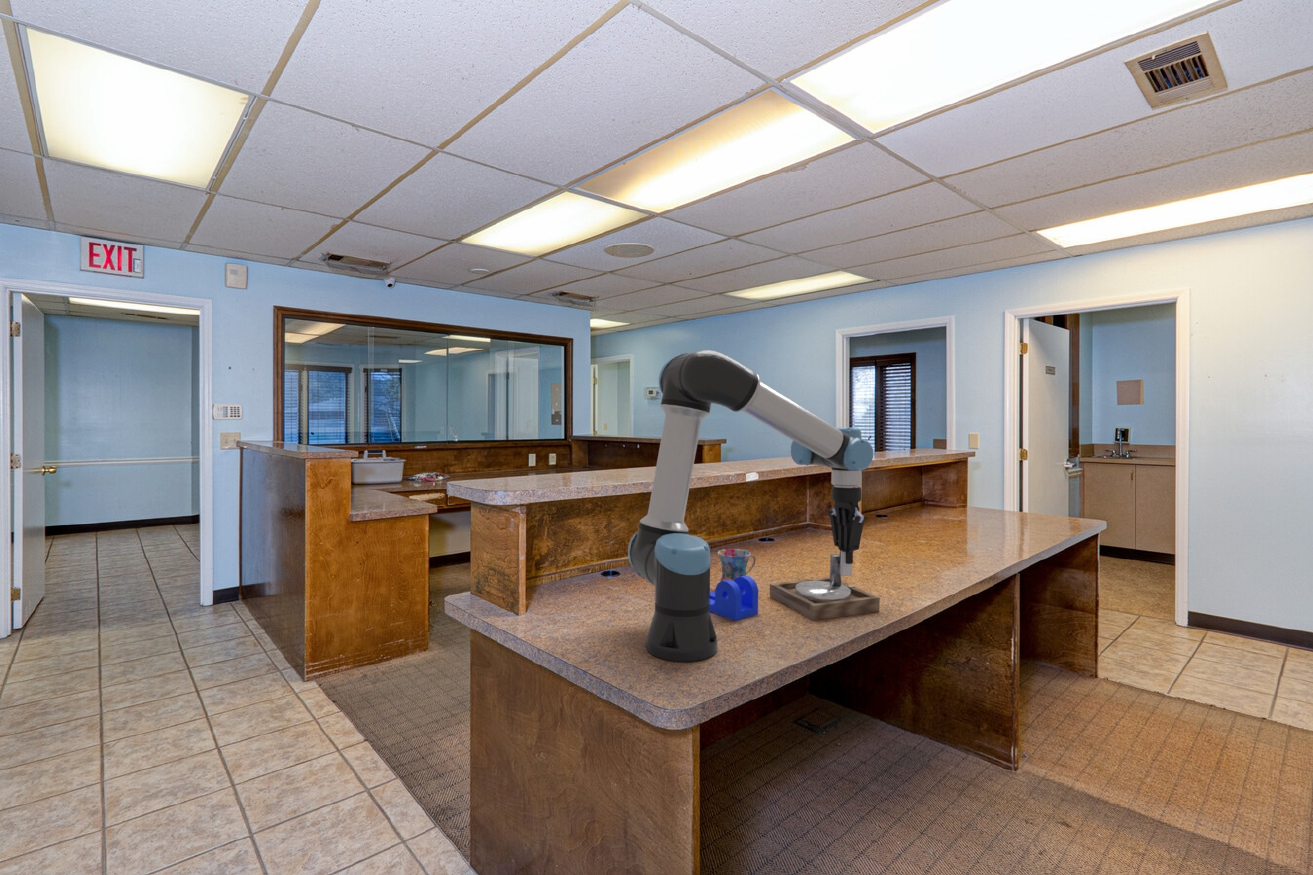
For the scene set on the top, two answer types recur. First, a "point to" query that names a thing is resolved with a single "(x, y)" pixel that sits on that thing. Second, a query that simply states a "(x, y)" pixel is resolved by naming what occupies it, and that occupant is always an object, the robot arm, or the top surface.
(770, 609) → the top surface
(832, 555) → the dial
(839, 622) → the top surface
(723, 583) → the bracket
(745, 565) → the mug
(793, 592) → the dial panel
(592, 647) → the top surface
